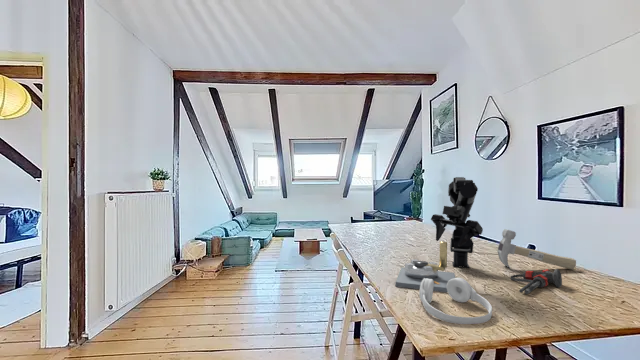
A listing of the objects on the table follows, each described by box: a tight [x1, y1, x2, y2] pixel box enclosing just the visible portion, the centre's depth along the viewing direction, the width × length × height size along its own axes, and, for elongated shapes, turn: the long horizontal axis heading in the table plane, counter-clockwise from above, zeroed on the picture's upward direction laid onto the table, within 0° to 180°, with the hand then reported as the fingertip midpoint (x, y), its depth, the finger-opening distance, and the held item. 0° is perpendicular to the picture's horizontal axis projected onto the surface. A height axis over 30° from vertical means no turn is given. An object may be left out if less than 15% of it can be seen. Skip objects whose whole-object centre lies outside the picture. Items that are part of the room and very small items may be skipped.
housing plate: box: [395, 267, 456, 293], centre depth 120 cm, size 20×20×2 cm
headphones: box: [418, 277, 493, 325], centre depth 94 cm, size 7×18×20 cm
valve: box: [509, 268, 563, 295], centre depth 116 cm, size 6×26×15 cm
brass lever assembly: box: [404, 240, 448, 279], centre depth 121 cm, size 15×12×13 cm
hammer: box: [497, 228, 577, 271], centre depth 138 cm, size 16×5×30 cm
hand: (447, 243), depth 122 cm, fingers open, 9 cm apart
